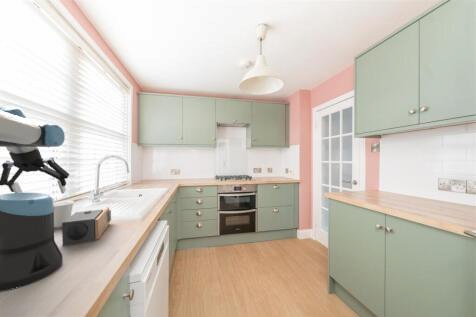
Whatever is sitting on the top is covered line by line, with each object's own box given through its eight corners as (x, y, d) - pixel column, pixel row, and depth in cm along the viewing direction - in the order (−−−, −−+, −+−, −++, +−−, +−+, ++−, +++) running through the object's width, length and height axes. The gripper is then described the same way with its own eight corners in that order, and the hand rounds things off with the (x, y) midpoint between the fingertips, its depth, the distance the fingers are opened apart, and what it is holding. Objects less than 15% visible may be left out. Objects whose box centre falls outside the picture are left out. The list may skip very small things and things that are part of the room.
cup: (69, 227, 89) (68, 204, 89) (41, 230, 85) (41, 207, 85) (78, 220, 98) (77, 200, 98) (53, 223, 94) (53, 201, 94)
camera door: (100, 238, 76) (100, 219, 76) (95, 239, 75) (95, 219, 75) (111, 222, 94) (111, 206, 94) (107, 222, 94) (106, 207, 93)
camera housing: (93, 242, 74) (92, 218, 73) (60, 247, 70) (59, 221, 69) (103, 228, 88) (102, 207, 88) (76, 231, 84) (76, 210, 84)
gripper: (69, 143, 78) (82, 184, 88) (-19, 147, 68) (6, 193, 77) (63, 151, 72) (77, 194, 82) (-35, 156, 62) (-5, 205, 71)
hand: (43, 194), depth 79 cm, fingers open, 13 cm apart
